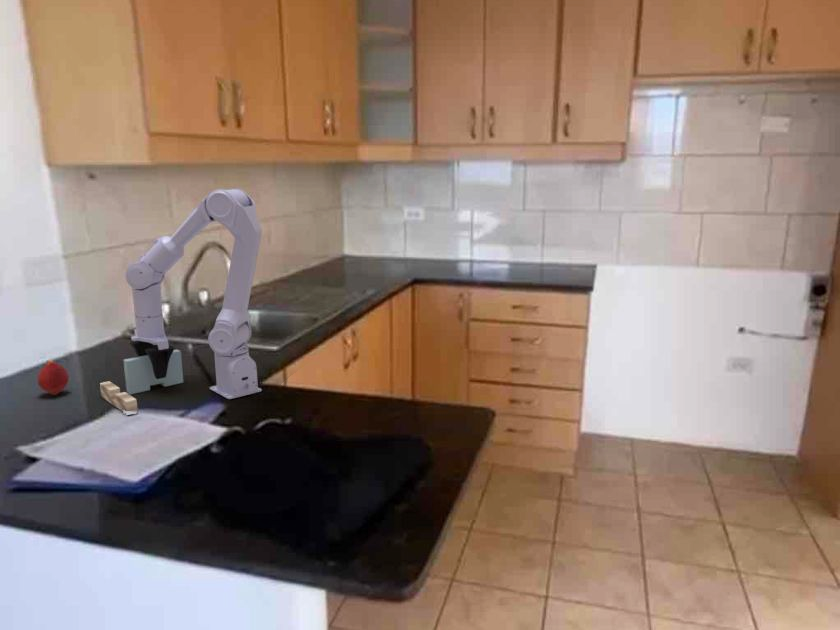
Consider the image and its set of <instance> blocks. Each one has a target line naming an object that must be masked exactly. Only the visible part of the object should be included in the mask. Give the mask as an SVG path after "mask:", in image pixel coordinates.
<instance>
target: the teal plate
mask: <svg viewBox="0 0 840 630" xmlns="http://www.w3.org/2000/svg"><path fill="white" fill-rule="evenodd" d="M182 361H183V360H182V351H181V350H180V349H174V351H173V353H172V355H171V357H170V360H169V363H168V369H167V375H166V377H165V378H161V379H156V378H155V375H154V372H153V367H152V363H151V360H150V358H149V356H148V355H146V356H140V357H138V356H136V357H131V358H130V357H129V358H125V359H123V368H124V369H123V370H124V371H123V372H124V377H125V388H126V393H128V394H129V395H134V394H138V393H143V392H148V391H150V390H151V386H155V385H158V384H159V385H161V386H163V387H170V386H174V385H178V384H183V383H184V373H183V362H182Z"/></svg>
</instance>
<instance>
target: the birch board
mask: <svg viewBox="0 0 840 630" xmlns="http://www.w3.org/2000/svg"><path fill="white" fill-rule="evenodd" d="M99 387H100V396H101V397H102V398H103V399H104V400H105V401H106V402H108V403H110V404H111V405H113V407H115V408H116V409H117V408H119V409H122V410H125V411H139V409H138V402H137V398H135V397H133V396H132V394H129V393H127V391H123V392H121V388H120V387H119V386H118V385H116V384H114V383H113V382H111V381H110V380H109V381H103V382H100V383H99ZM119 409H118V410H119Z"/></svg>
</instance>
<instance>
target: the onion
mask: <svg viewBox="0 0 840 630" xmlns="http://www.w3.org/2000/svg"><path fill="white" fill-rule="evenodd" d="M69 378H70V377H69V374H68V371H67V370H66V368H64V366H62V365H60V364H59V363H57V362H55V361H53V360H52V359H48V360H47V361H46V365H44V366H43V367H42V368H41V369H40V371H39V372H38V375H37V383H38V386H39V387H40V389H42V390H44V391H45V392H47V393H49V394H50V395H52V396H57V395H58V394H59V393H61V392H62V391H63V390H64V389H65V388H66V387H67V385H68V383H69Z"/></svg>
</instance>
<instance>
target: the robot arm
mask: <svg viewBox="0 0 840 630" xmlns="http://www.w3.org/2000/svg"><path fill="white" fill-rule="evenodd" d="M216 222H218V223H219V224H221V225H222V226H224V227H225V228H226V229H227V230H228V232H229V233H230V234H231V235H232V237H233V238H234V241H233V246H232V252H231V258H230V263H229V269H228V273H227V275H228V276H227V280H226V285H225V292H224V296H223V303H222V307H221V310H220V312H219V314H218V315H217V317H216V319H215V324H214V326H213V328H212V329H211V331H210V332H209V334H208V337H207V340H208V341H207V342H208V344H209V345H208V346H209V347H210V349H211V350H212V352H214V364H215V365H214V366H215V377H216V378H215V379H216V380H215V381H216V384H215V385H212V386H210V387H209V390H211V391H213V392H214V393H216V394H218V395H220V396H222V397H223V398H225V399H227V400H232V399H236V398H240V397H241V398H242V397H244V396H247V395H248V396H249V395H252V394H256V393H260V392H262V390H263V389H262V388H260V387H259V386H258V385H259V384H258V370H257V369H258V366H257V363H256V361H255V360H254V359H253V358H252V357H251V356H250V352H249V346H248V345H249V344H248V342H249V340H250V339H251V337H252V328H251V325H250V321H251V315H250V313H249V312H248V309H249V304H250V303H249V302H250V297H251V292H252V289H253V288H252V287H253V282H254V277H255V272H256V265H257V261H258V254H259V250H260V244H261V241H262V240H261V239H262V227H261V225H260V221H259V219H258V216H257V213H256V203H255V201H254V200H253V199H252V198H251V197H250V195H249V194H248V193H247V192H246V191H245V190H243V189H241V188H232V189H214V190H213V191H211V192H210V193H209V194H208V196H207V197H205V198H203V199H202V200H200V202H199V204H198V205H197V206H196V207H195V208H194V210H193V211H192V212H191V213H190V214H189V216H188V217H187V218H186V219H185V220H184V221H183V222H182V224H181V225H180V226H179V227H178V228H177V229H176V230H175V231H174V232H173V234H172V235H171V236H170V235H169V236H167V235H166V236H165V235H164V236H161V237H158V238H156V239H154V240H153V244H154V245H153V246H152V247H151V248H149V250H147V252H146V253H142V254H141V255H140V256H139V258H140V260H139V261H135V262H131V263H130V264H129V265H128V267H127V268H126V270H125V280H126V282H127V284H128V285H129V286H130V287H131V289H132V290H131V292H132V302H133V309H134V310H133V311H134V321H135V328H134V329H133V331H134V335H133V336H130V338H131V341H130V342H129V343H130V346H131V347H132V348H133V350H134V352H135V354H136V357H140V356H146V355H148V356H149V358H150V360H151V363H152V367H153V372H154V375H155V378H156V379H161V378H165V377H166V375H167V369H168V363H169V360H170V357H171V355H172V353H173V351H174V350H175V347H174V346H172V345H169V340H168V339H167V336H166V332H165V326H164V324H165V323H164V315H163V314H164V312H163V303H162V291H161V290H162V287H161V286H162V282H163V281H164V280H165V276H166V274H167V272H168V271H170V270H171V269H172V268H173V266H175V265H176V264H177V263H178V262H179V261H180V260H181V258H182V257H184V256H185V246H186V245H188V243H189V242H191V241H192V240H193V239H194V238H195V237H196V236H197V235H198V234H199V233H200V232H202V231H203V230H204V229H205V228H206V227H207V226H208V225H209V224H212V223H216Z"/></svg>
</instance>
